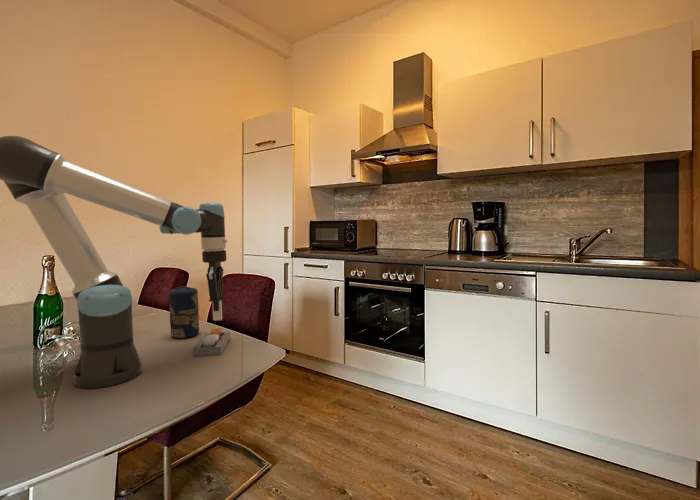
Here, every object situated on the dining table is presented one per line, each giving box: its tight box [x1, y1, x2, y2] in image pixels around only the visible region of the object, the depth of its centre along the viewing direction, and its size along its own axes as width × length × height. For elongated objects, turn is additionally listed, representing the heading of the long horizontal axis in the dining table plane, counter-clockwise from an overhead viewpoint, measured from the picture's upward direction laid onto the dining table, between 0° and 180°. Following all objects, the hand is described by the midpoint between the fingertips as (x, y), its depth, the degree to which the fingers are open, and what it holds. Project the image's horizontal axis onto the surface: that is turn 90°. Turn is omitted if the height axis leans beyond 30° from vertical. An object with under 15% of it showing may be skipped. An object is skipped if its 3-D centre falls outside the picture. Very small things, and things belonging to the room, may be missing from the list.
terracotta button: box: [210, 326, 223, 336], centre depth 125 cm, size 4×4×2 cm
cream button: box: [208, 334, 219, 341], centre depth 120 cm, size 4×4×2 cm
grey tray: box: [192, 331, 231, 357], centre depth 120 cm, size 16×8×2 cm, turn 8°
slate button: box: [202, 336, 215, 347], centre depth 114 cm, size 4×4×2 cm
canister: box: [168, 285, 200, 339], centre depth 132 cm, size 10×10×18 cm
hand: (217, 319), depth 124 cm, fingers closed
